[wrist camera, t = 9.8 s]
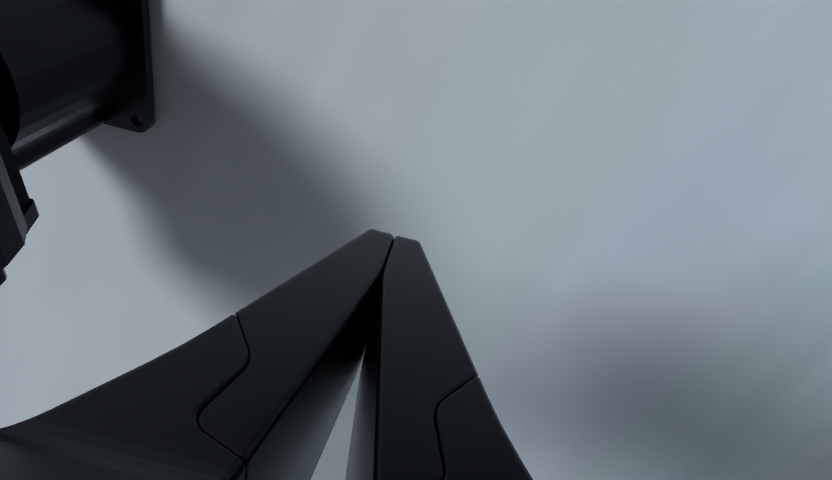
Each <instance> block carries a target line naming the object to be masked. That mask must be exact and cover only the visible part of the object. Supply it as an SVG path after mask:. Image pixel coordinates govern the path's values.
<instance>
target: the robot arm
mask: <svg viewBox="0 0 832 480" xmlns="http://www.w3.org/2000/svg"><path fill="white" fill-rule="evenodd" d="M136 114H137V115H139V116H140V117H141V118H142V120H143V123H142V122H140V121H139V120H138V119H137V117H136ZM154 122H155V115H154V97H153V79H152V62H151V44H150V26H149V8H148V0H0V286H1V285H2V283H3V282H4V281H5V280H6V277H7V275H6V273H5V271H4V268H5V267H6V266H7V265H8V264H9V263H10V262H11V260H12V259H13V258H14V257H15V255H16V254H17V253H18V252H19V250H20V249H21V248H22V247H23V246H24V244H25V238H26V234H27V233H28V231H29V230H30V228H31V227H32V225H33V224H34V222H35V221H36V219H37V218H38V217H39V213H38V211H37V208H36V205H35V202H34V200H33V199H30V198H29V197H28V194H27V191H26V188H25V185H24V183H23V180H22V177H21V174H20V170H22V169H24V168H25V167H27V166H29V165H31V164H33V163H34V162H36V161H38V160H40V159H41V158H43V157H45V156H47V155H48V154H50V153H52V152H54V151H55V150H57V149H59V148H61V147H62V146H64V145H66V144H68V143H69V142H71V141H73V140H75V139H76V138H78V137H80V136H82V135H83V134H85V133H87V132H89V131H91V130H92V129H94V128H96V127H98V126H99V125H101V124H107V125H111V126H115V127H119V128H123V129H127V130H131V131H135V132H141V133H143V132H145V131H147V130H149V129H150V128H152V126H153V125H154ZM364 351H365V352H364ZM363 354H364V357H363ZM362 357H363V361H362V366H361V372H360V379H359V386H358V393H357V400H356V407H355V415H354V422H353V429H352V436H351V443H350V451H349V458H348V465H347V472H346V480H533V479H532V477H531V476H530V474H529V472H528V471H527V469H526V467H525V466H524V464H523V462H522V461H521V459H520V457H519V455H518V454H517V452H516V450H515V448H514V447H513V445H512V443H511V441H510V439H509V438H508V436H507V434H506V432H505V431H504V429H503V427H502V425H501V423H500V421H499V419H498V417H497V415H496V413H495V411H494V409H493V407H492V405H491V402H490V400H489V398H488V396H487V394H486V392H485V389H484V387H483V385H482V382H481V380H480V378H478V374H477V371H476V369H475V367H474V365H473V362H472V360H471V358H470V356H469V353H468V351H467V349H466V347H465V344H464V342H463V340H462V337H461V335H460V333H459V331H458V328H457V326H456V324H455V322H454V319H453V317H452V315H451V313H450V310H449V308H448V306H447V303H446V301H445V299H444V297H443V294H442V292H441V290H440V288H439V285H438V283H437V281H436V279H435V276H434V274H433V272H432V269H431V267H430V265H429V263H428V260H427V258H426V256H425V254H424V251H423V249H422V247H421V245H420V243H419V242H418V241H416V240H412V239H408V238H404V237H400V236H397V237H395V238H393V236H392V235H391V234H388V233H385V232H381V231H377V230H373V229H371V230H368V231H366V232H365V233H363V234H362V235H360V236H358V237H357V238H355V239H354V240H352V241H350V242H349V243H347V244H346V245H344V246H342V247H341V248H339V249H337V250H336V251H334V252H333V253H331V254H329V255H328V256H326V257H325V258H323V259H321V260H320V261H318V262H317V263H315V264H313V265H312V266H310V267H309V268H307V269H305V270H304V271H302V272H301V273H299V274H297V275H296V276H294V277H293V278H291V279H289V280H288V281H286V282H285V283H283V284H281V285H280V286H278V287H276V288H275V289H273V290H272V291H270V292H268V293H267V294H265V295H264V296H262V297H260V298H259V299H257V300H256V301H254V302H252V303H251V304H249V305H248V306H246V307H244V308H243V309H241V310H240V311H238V312H237V313H236V314H235V315H231V316H230V317H228V318H226V319H225V320H223V321H222V322H220V323H218V324H217V325H215V326H213V327H212V328H210V329H208V330H207V331H205V332H203V333H201V334H200V335H198V336H196V337H195V338H193V339H191V340H189V341H188V342H186V343H184V344H182V345H181V346H179V347H177V348H175V349H173V350H171V351H169V352H167V353H165V354H163V355H161V356H159V357H157V358H155V359H153V360H151V361H149V362H148V363H146V364H143V365H141V366H139V367H137V368H135V369H133V370H131V371H129V372H127V373H125V374H123V375H121V376H119V377H117V378H115V379H113V380H111V381H108V382H106V383H104V384H102V385H100V386H98V387H96V388H94V389H92V390H90V391H88V392H86V393H84V394H82V395H80V396H78V397H75V398H73V399H71V400H69V401H67V402H65V403H63V404H61V405H59V406H57V407H55V408H53V409H51V410H49V411H46V412H44V413H42V414H40V415H37V416H35V417H33V418H31V419H28V420H25V421H22V422H20V423H17V424H14V425H11V426H8V427H4V428H1V429H0V480H310V479H311V477H312V475H313V472H314V470H315V468H316V466H317V463H318V461H319V459H320V456H321V454H322V452H323V449H324V447H325V445H326V442H327V440H328V438H329V436H330V433H331V431H332V429H333V426H334V424H335V422H336V419H337V417H338V415H339V413H340V410H341V408H342V406H343V403H344V401H345V399H346V396H347V394H348V392H349V389H350V387H351V385H352V383H353V380H354V378H355V376H356V373H357V371H358V368H359V366H360V363H361V360H362Z"/></svg>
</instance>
